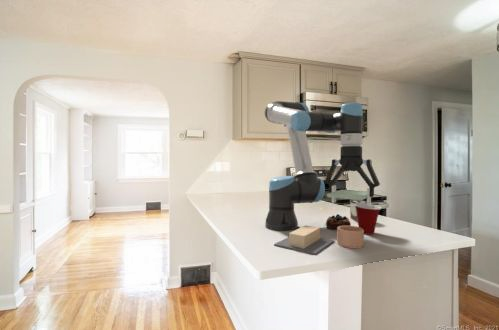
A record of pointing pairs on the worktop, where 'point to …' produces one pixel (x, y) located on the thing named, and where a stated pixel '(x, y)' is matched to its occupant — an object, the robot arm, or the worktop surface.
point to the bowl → (350, 236)
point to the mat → (308, 249)
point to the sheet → (348, 194)
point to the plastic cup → (367, 217)
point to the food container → (353, 209)
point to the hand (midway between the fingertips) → (350, 204)
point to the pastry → (337, 222)
